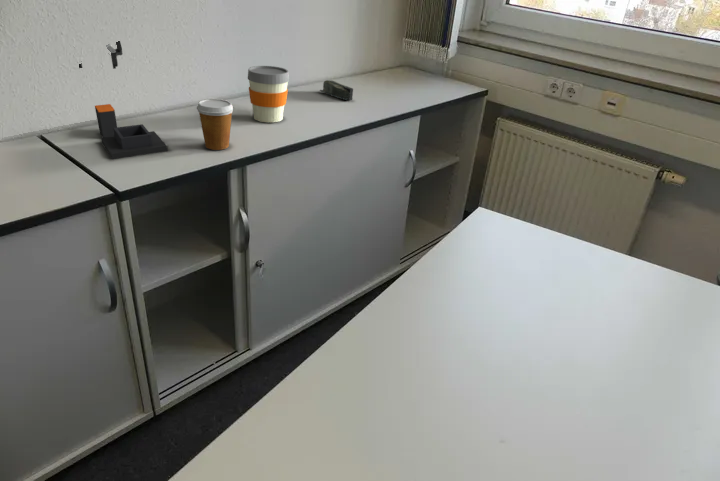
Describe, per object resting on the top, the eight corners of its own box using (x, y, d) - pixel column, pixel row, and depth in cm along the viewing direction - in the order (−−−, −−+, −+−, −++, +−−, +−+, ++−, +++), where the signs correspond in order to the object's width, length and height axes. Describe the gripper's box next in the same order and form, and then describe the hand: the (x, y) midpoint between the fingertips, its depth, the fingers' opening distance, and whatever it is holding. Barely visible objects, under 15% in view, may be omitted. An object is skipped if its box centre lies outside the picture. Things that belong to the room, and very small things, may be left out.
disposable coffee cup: (240, 149, 149) (239, 106, 143) (206, 154, 144) (204, 109, 138) (226, 138, 156) (225, 97, 150) (194, 142, 151) (191, 99, 145)
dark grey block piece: (354, 87, 193) (324, 77, 201) (349, 88, 191) (319, 78, 199) (353, 101, 196) (323, 90, 204) (347, 102, 194) (318, 91, 201)
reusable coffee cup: (251, 124, 165) (250, 74, 158) (245, 112, 175) (244, 65, 168) (292, 123, 169) (293, 75, 162) (283, 112, 179) (284, 65, 172)
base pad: (111, 159, 138) (109, 142, 135) (101, 143, 146) (98, 127, 144) (167, 151, 145) (165, 135, 142) (154, 136, 153) (152, 120, 151)
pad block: (103, 139, 148) (98, 111, 144) (99, 133, 152) (94, 105, 148) (119, 137, 150) (114, 109, 146) (114, 131, 154) (110, 104, 150)
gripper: (117, 24, 161) (125, 74, 158) (63, 24, 155) (71, 75, 152) (115, 8, 154) (124, 59, 151) (59, 8, 148) (67, 61, 145)
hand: (97, 67), depth 152 cm, fingers open, 8 cm apart
